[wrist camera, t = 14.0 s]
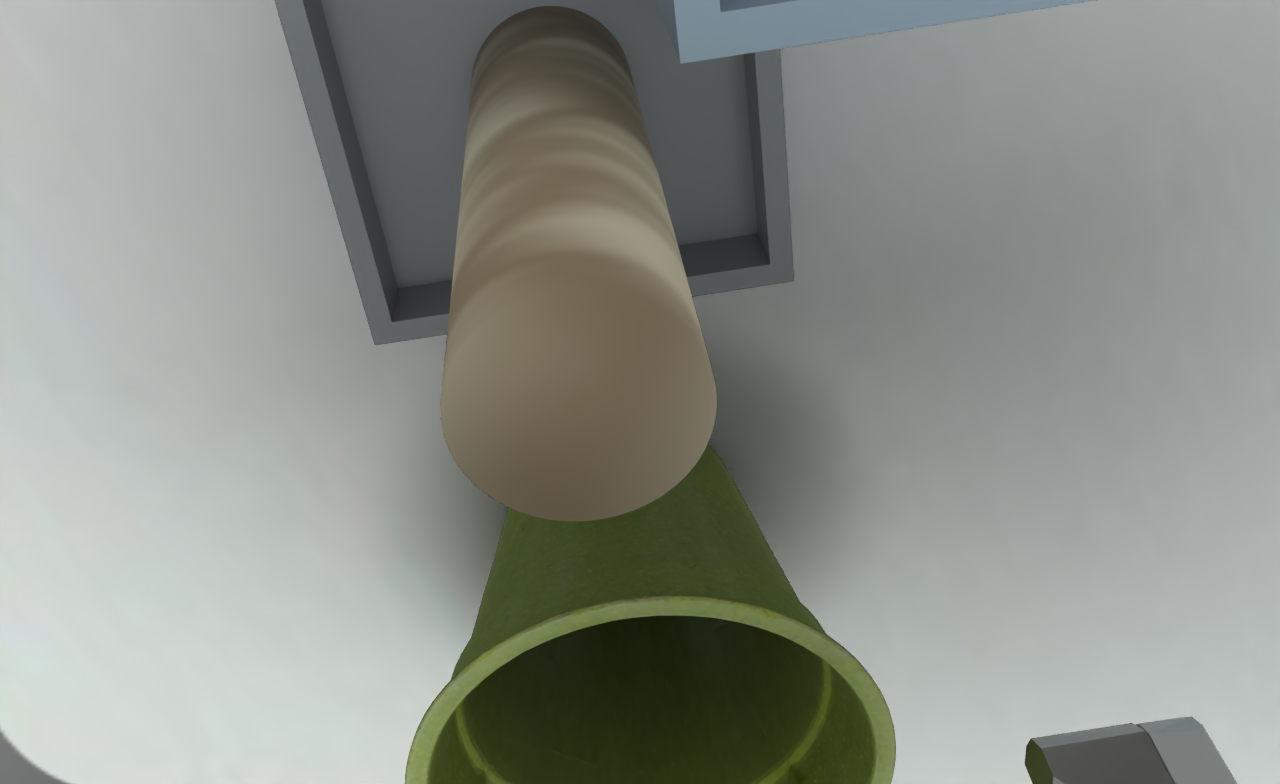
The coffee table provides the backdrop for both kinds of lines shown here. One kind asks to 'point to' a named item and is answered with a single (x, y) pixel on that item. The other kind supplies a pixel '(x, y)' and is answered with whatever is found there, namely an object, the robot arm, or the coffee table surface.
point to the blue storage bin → (811, 21)
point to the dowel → (568, 286)
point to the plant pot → (651, 660)
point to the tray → (437, 128)
